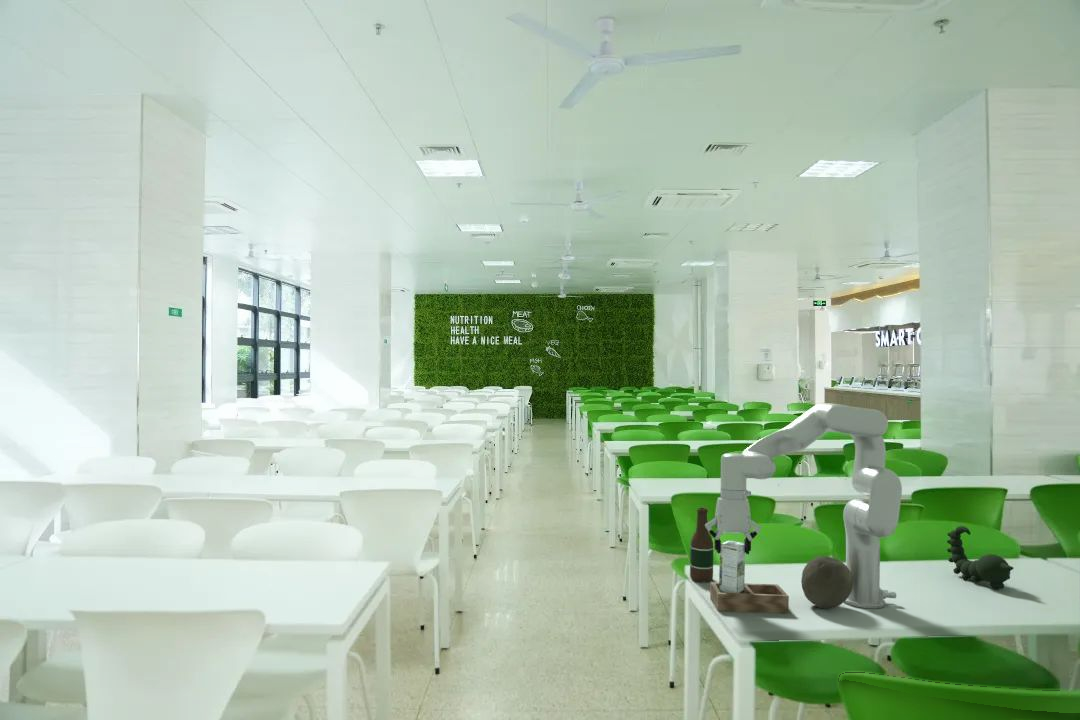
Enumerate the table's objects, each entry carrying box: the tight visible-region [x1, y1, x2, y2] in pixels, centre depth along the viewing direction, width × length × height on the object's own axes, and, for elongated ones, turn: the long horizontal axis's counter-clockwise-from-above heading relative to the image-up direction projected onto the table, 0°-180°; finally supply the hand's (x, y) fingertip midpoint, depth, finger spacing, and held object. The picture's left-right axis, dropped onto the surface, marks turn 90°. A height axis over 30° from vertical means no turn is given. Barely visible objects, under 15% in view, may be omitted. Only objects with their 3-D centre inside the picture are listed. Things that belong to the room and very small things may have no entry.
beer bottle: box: [689, 507, 714, 583], centre depth 230 cm, size 8×8×24 cm
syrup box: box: [718, 540, 746, 593], centre depth 205 cm, size 6×6×14 cm
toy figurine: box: [946, 525, 1014, 591], centre depth 230 cm, size 9×19×25 cm
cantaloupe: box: [800, 555, 853, 610], centre depth 204 cm, size 14×14×15 cm
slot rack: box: [709, 581, 790, 614], centre depth 205 cm, size 21×11×5 cm, turn 87°
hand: (732, 552), depth 205 cm, fingers closed on syrup box, 7 cm apart
